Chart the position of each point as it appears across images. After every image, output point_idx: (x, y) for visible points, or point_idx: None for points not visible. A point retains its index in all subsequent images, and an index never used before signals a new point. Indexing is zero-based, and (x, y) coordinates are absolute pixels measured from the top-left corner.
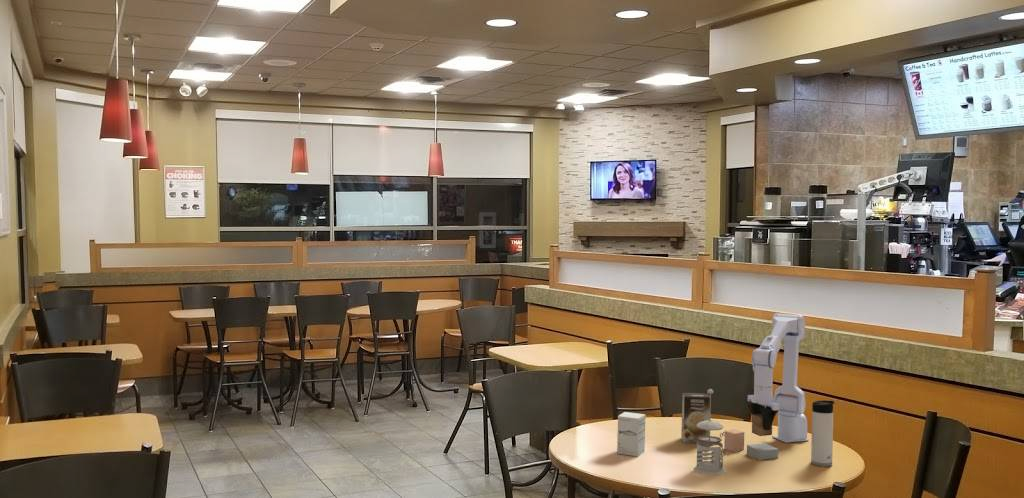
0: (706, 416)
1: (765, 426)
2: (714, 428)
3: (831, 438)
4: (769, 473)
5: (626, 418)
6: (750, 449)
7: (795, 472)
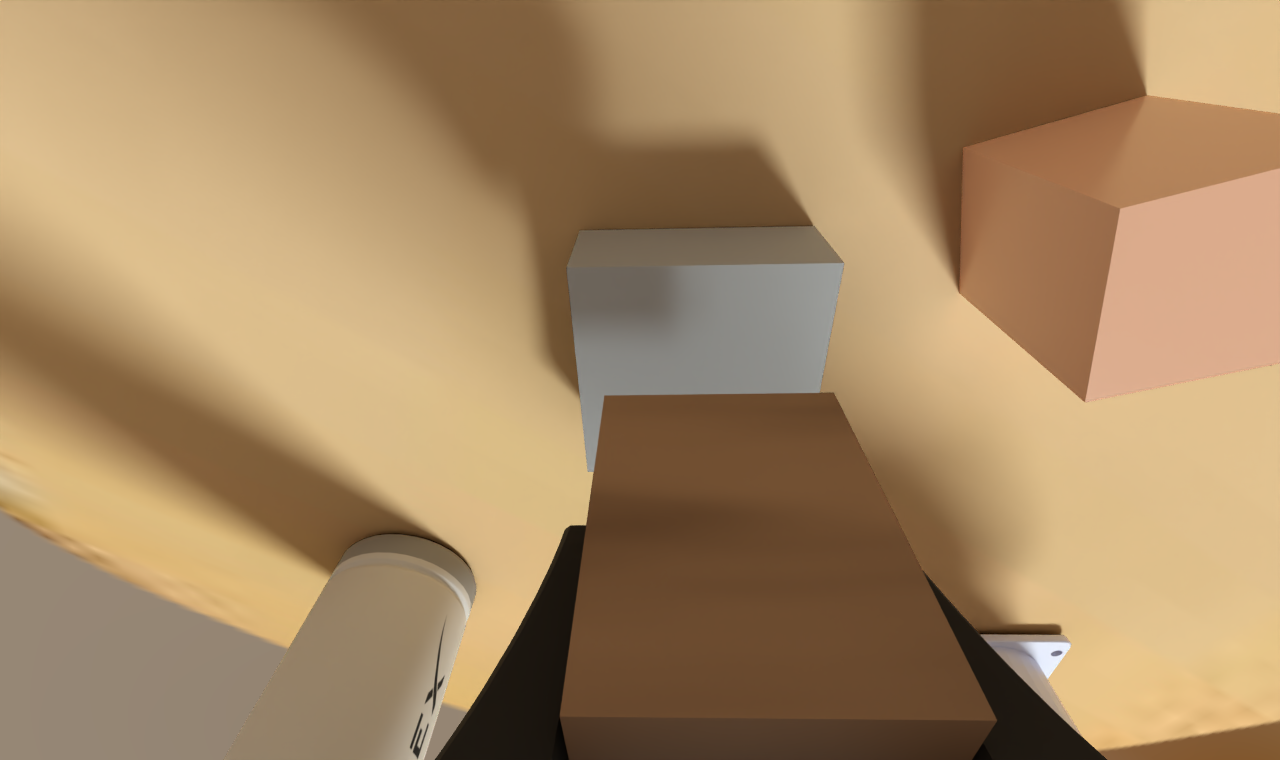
0: None
1: (549, 580)
2: None
3: None
4: (55, 34)
5: None
6: (755, 252)
7: (161, 321)
